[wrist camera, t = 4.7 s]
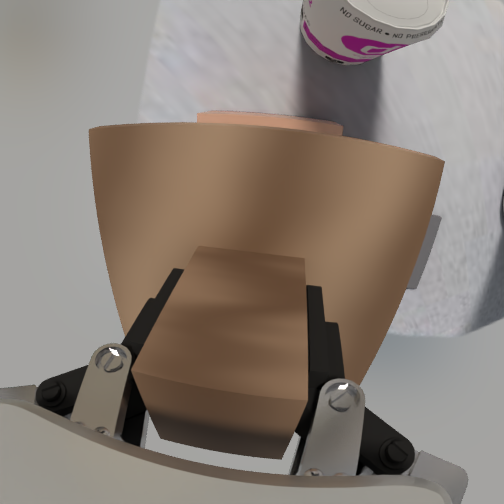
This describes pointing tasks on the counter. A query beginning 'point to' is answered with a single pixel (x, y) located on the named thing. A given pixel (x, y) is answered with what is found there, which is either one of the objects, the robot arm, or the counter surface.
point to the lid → (253, 264)
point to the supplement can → (367, 26)
